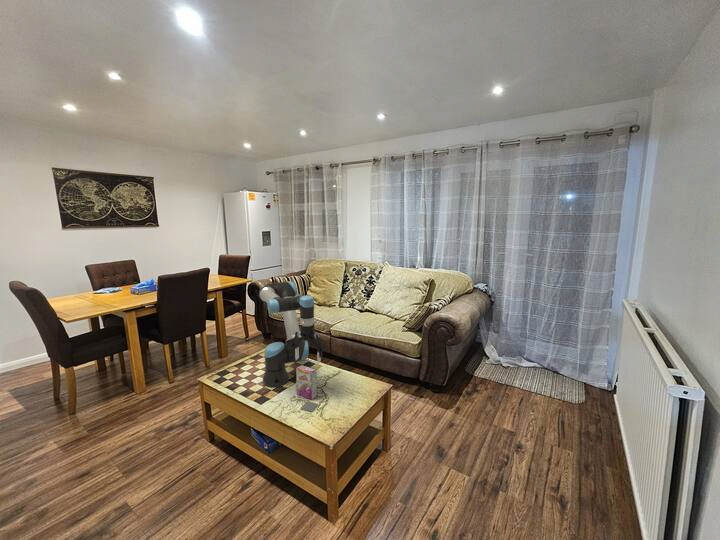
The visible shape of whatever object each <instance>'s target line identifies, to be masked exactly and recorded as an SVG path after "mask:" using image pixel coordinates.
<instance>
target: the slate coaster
mask: <svg viewBox="0 0 720 540" xmlns="http://www.w3.org/2000/svg"><path fill="white" fill-rule="evenodd" d="M318 406H319V403H316V402H312V401H308V400H306V402H305V403H303V405H302V406H301V407H300V410H302V411H305V412H309V413H313V412H314V411H315V409H316V408H318Z"/></svg>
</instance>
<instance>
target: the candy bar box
mask: <svg viewBox="0 0 720 540" xmlns="http://www.w3.org/2000/svg"><path fill="white" fill-rule="evenodd" d="M295 377H296V378H295V379H296V395H298V396H301V397H303V398H305V399H308V400H311V401H312V400H314V399H315V398H316V397H318V392H317V391H318V389H317V369H315V368H312V367H309V366H306V365H303V364H300V365H299V366H296V368H295Z"/></svg>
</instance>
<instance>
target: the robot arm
mask: <svg viewBox="0 0 720 540" xmlns="http://www.w3.org/2000/svg"><path fill="white" fill-rule="evenodd" d="M258 296H259V298H260V299H261V301H262V302H266V304H267V311H268V313H269V314H278V313H282V316H283V317H282V318H283V323H284V328H285V333H286V338H287V339H286V340H285V343H284V342H282V341H276V342H272V343H270V344H267V346H266V347H265V348H264V365H265V366H264V367H265V368H264V369H265V370H264V374H263V377H262V384H263V385H264V387H267V388H278V387H282V386H284V385H285V384H287V383H288V382H289V375H288V372H287V369H286V364H290V363H295V362H301V361H303V360H306V359H308V356H309V354H310V353H309V342H310V343H311V344H313V346H314V347H315V349H316V351H317V352H316V353H317V354H316V355H317V357H316V359H317V364H320V363H321V361H322V357H323V352H325V351H326V347H325V345H324V343H323V340H322V338H321V334H320V332H319V333H315V300H314V297H313V296H312V295H303V294H298V290H297V287H296V284H295V283H294V282H293V281H292V280H291V281H286V280H285V281H280V282H279V281H277V282H270V283H266V284H264V285H263V286H262V287H261V288H260V289H259V291H258ZM298 310H299V318H300V319H299V320H298V316H297V311H298ZM299 323H300V325H299Z"/></svg>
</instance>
